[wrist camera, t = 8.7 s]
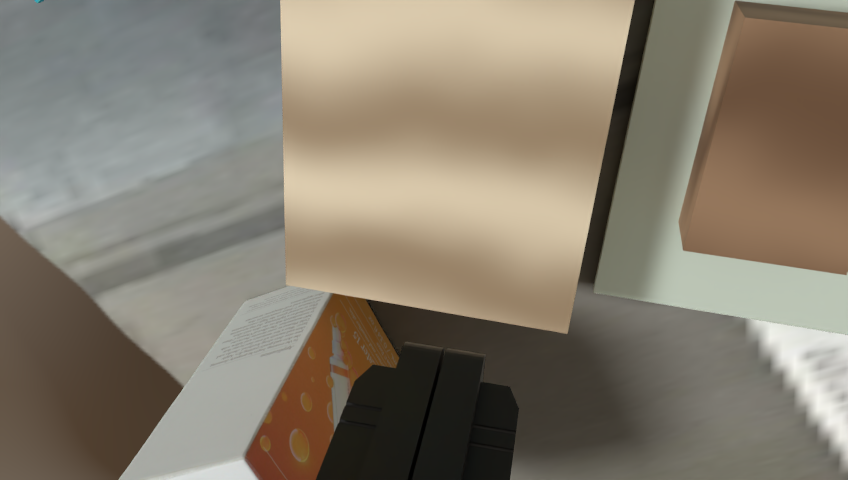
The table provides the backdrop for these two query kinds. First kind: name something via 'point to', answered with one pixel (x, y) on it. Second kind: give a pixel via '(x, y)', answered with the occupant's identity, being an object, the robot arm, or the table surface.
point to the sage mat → (668, 179)
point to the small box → (267, 391)
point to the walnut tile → (775, 143)
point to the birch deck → (447, 149)
